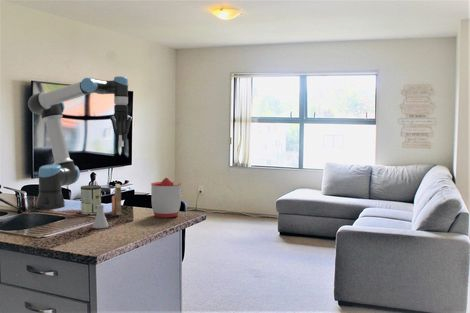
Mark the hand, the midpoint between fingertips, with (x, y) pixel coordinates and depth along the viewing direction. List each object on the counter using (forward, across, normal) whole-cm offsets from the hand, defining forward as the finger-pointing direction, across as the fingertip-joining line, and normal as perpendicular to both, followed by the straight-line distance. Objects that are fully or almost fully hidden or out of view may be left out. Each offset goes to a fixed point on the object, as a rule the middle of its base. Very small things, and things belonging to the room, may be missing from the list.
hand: (121, 146), depth 258 cm
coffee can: (+35, +8, +20) cm, 41 cm away
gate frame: (+34, -5, +16) cm, 38 cm away
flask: (+35, -13, +49) cm, 62 cm away
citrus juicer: (+35, -34, +16) cm, 51 cm away
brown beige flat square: (+33, -7, +19) cm, 39 cm away
